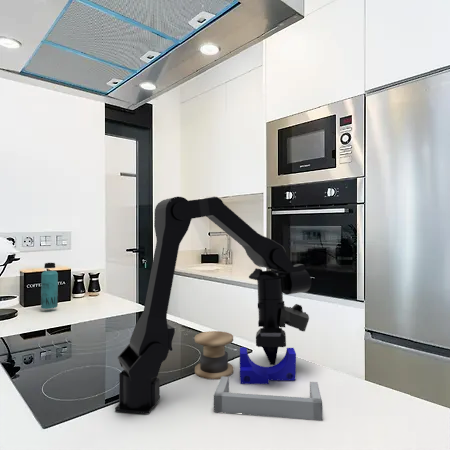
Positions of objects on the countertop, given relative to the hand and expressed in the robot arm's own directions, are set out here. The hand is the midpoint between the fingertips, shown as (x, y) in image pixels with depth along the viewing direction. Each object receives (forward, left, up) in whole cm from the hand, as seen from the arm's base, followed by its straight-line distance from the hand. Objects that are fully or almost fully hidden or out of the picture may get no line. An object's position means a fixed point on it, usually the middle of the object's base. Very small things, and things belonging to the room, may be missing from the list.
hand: (272, 364), depth 82 cm
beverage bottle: (-94, +51, -2) cm, 107 cm away
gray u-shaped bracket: (-1, -16, -2) cm, 16 cm away
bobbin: (-14, -2, -2) cm, 14 cm away
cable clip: (-1, -5, -2) cm, 5 cm away
